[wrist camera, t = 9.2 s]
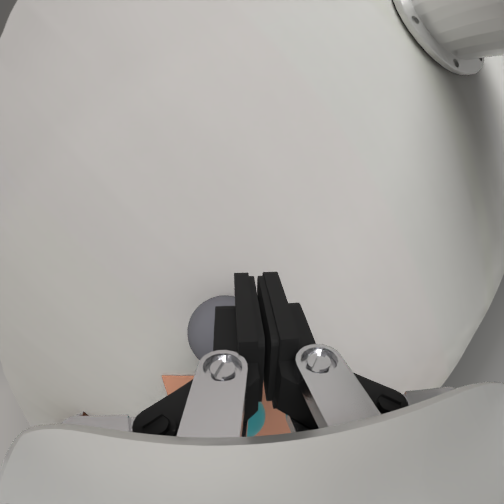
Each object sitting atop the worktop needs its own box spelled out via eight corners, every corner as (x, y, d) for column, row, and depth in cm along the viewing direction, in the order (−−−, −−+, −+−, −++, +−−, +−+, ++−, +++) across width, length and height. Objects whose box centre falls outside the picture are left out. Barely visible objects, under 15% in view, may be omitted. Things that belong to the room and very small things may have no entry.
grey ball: (183, 382, 16) (193, 349, 22) (265, 385, 17) (258, 351, 22) (180, 305, 16) (193, 286, 21) (271, 309, 16) (262, 289, 22)
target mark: (162, 375, 24) (162, 376, 23) (304, 367, 25) (305, 369, 25) (185, 442, 29) (185, 443, 29) (290, 435, 30) (291, 436, 30)
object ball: (206, 436, 19) (212, 445, 22) (271, 433, 19) (265, 442, 23) (204, 381, 23) (210, 399, 27) (264, 378, 24) (260, 397, 27)
